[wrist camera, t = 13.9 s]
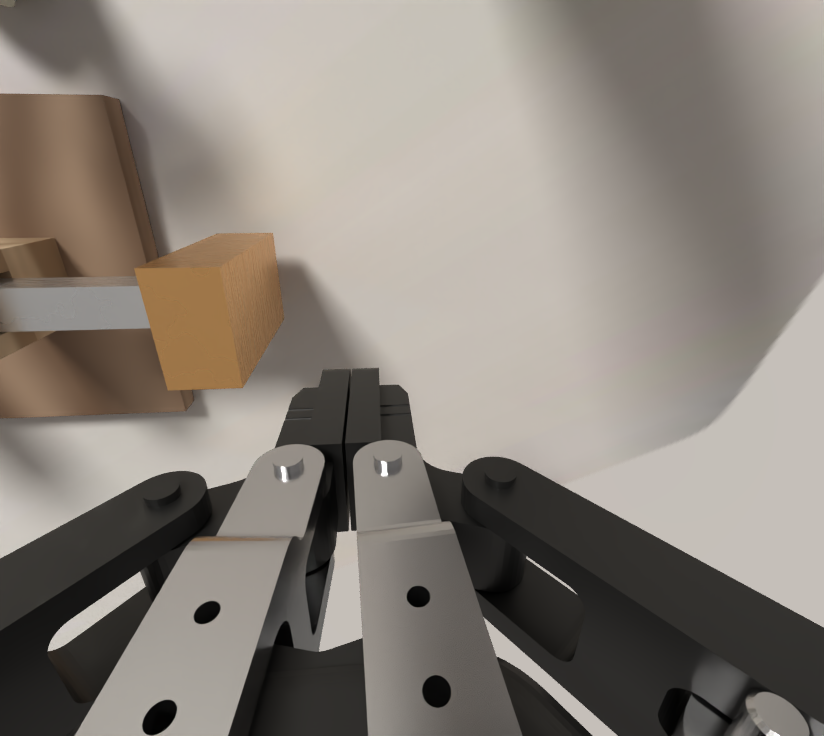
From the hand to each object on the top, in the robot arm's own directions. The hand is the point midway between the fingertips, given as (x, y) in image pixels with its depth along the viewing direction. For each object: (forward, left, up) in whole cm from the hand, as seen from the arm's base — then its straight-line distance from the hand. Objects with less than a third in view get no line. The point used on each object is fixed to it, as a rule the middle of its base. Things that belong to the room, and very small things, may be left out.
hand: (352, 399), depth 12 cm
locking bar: (+12, 0, -15) cm, 19 cm away
